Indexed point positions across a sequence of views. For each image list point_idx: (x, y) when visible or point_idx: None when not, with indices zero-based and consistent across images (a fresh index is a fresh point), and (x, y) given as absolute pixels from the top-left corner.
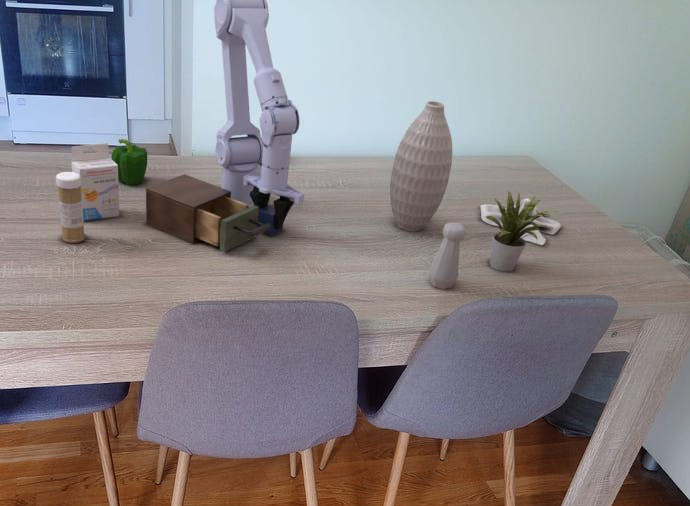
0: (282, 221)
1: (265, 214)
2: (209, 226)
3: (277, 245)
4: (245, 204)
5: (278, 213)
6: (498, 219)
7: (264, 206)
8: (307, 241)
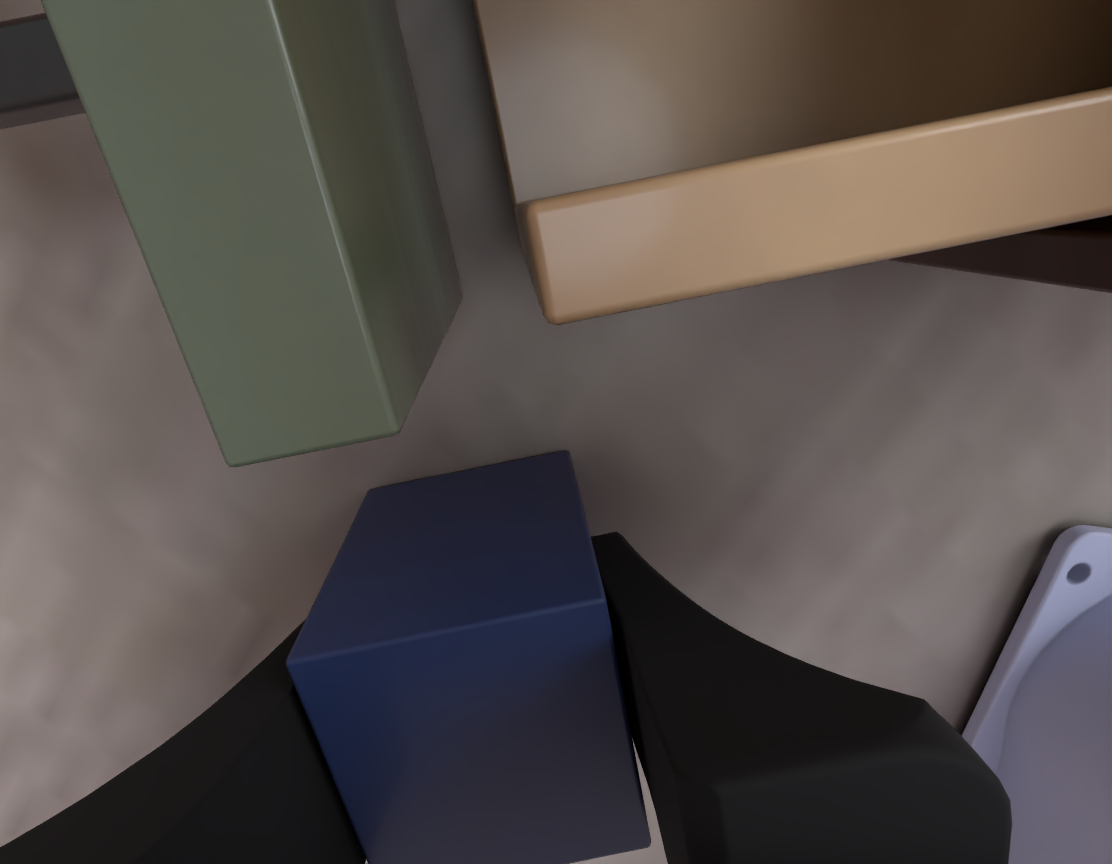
0: None
1: (443, 608)
2: None
3: (145, 406)
4: (608, 239)
5: (180, 749)
6: None
7: (643, 749)
8: (107, 714)
